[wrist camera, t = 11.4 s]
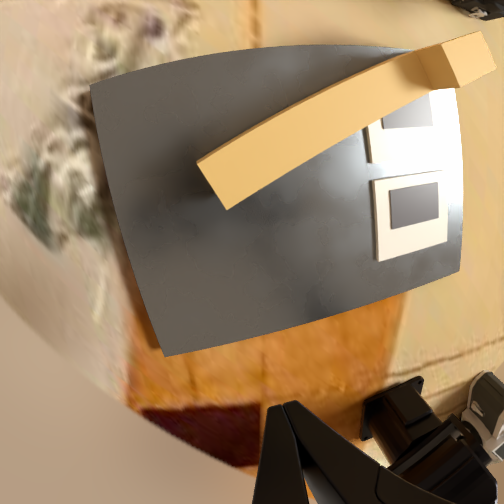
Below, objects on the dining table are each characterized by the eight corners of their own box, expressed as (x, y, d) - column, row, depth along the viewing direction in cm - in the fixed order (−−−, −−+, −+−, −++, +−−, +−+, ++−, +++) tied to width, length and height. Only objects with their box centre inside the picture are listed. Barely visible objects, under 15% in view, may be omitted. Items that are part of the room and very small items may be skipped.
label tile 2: (442, 154, 17) (446, 155, 17) (369, 163, 17) (373, 163, 16) (433, 80, 16) (437, 80, 15) (357, 77, 15) (360, 76, 15)
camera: (442, 400, 28) (490, 456, 19) (493, 358, 29) (543, 403, 19) (438, 452, 34) (470, 495, 25) (480, 419, 34) (514, 457, 25)
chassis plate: (451, 266, 22) (459, 271, 21) (165, 347, 19) (164, 357, 18) (438, 57, 16) (447, 55, 15) (94, 88, 14) (89, 85, 13)
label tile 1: (444, 240, 19) (447, 241, 19) (376, 260, 19) (379, 262, 18) (443, 169, 18) (447, 170, 17) (371, 180, 17) (375, 181, 17)
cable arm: (427, 44, 14) (480, 30, 10) (441, 75, 15) (496, 68, 11) (196, 161, 15) (197, 167, 10) (220, 199, 15) (233, 221, 11)
